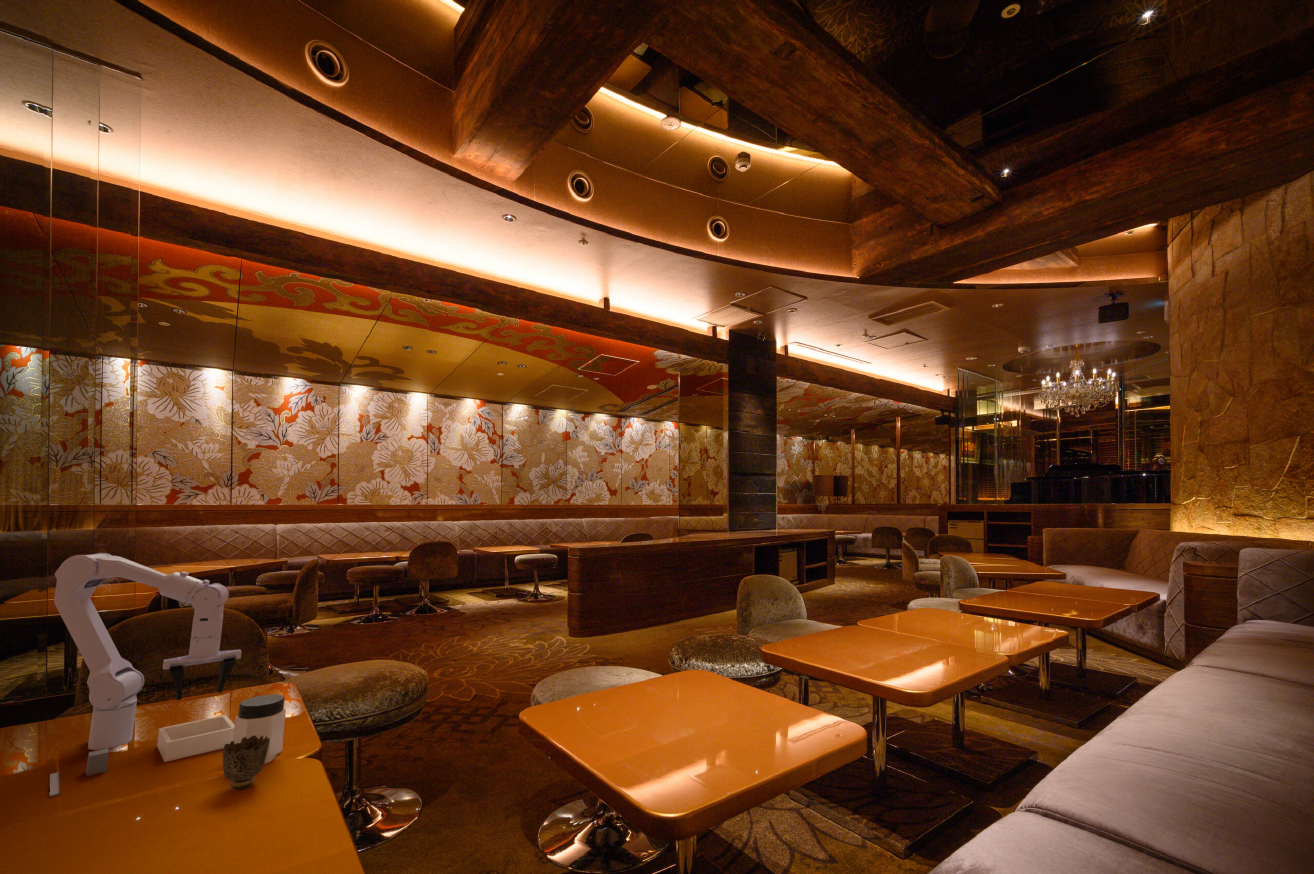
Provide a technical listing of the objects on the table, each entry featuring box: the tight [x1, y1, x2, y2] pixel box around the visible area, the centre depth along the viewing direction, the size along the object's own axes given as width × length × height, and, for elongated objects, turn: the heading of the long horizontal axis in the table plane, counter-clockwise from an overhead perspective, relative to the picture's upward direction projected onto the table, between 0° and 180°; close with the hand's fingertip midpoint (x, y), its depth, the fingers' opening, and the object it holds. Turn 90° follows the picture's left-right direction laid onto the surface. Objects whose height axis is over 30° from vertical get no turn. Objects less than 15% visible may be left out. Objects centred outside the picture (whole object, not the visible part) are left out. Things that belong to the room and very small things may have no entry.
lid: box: [48, 748, 110, 798], centre depth 112 cm, size 13×13×5 cm
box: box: [156, 714, 235, 763], centre depth 125 cm, size 12×12×4 cm
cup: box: [222, 735, 270, 791], centre depth 108 cm, size 8×7×8 cm
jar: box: [233, 694, 287, 765], centre depth 121 cm, size 9×8×12 cm
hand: (199, 695), depth 133 cm, fingers open, 7 cm apart
